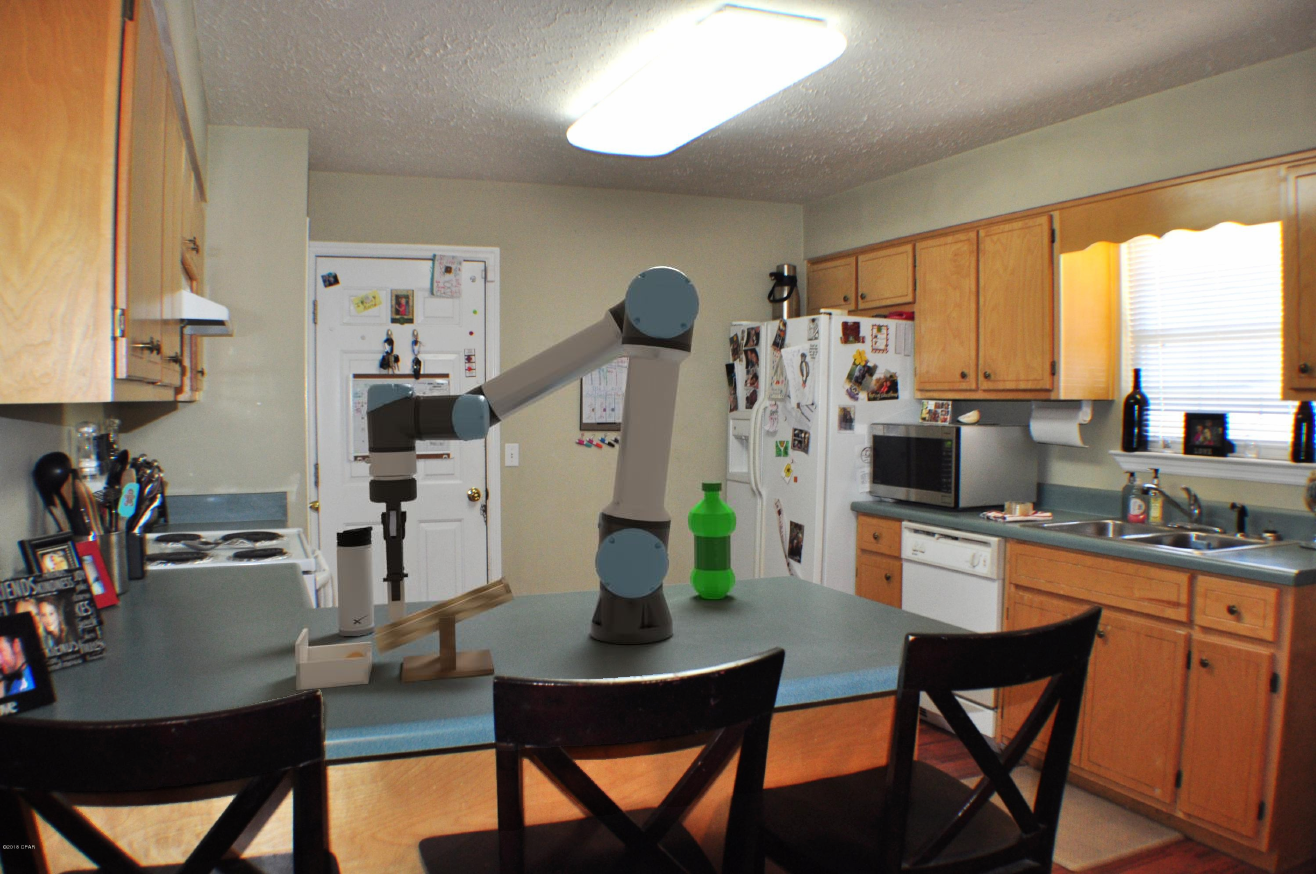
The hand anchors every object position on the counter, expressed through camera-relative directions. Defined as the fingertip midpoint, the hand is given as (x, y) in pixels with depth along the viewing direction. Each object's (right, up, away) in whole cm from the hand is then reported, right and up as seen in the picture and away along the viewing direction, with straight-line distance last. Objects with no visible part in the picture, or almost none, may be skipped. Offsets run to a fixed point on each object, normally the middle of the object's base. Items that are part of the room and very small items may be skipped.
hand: (396, 618), depth 141 cm
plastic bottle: (+55, -5, +45) cm, 71 cm away
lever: (+9, 0, -1) cm, 9 cm away
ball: (-4, -5, -7) cm, 10 cm away
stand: (+9, -7, -4) cm, 12 cm away
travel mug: (-13, -7, +18) cm, 23 cm away
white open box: (-7, -8, -8) cm, 13 cm away
